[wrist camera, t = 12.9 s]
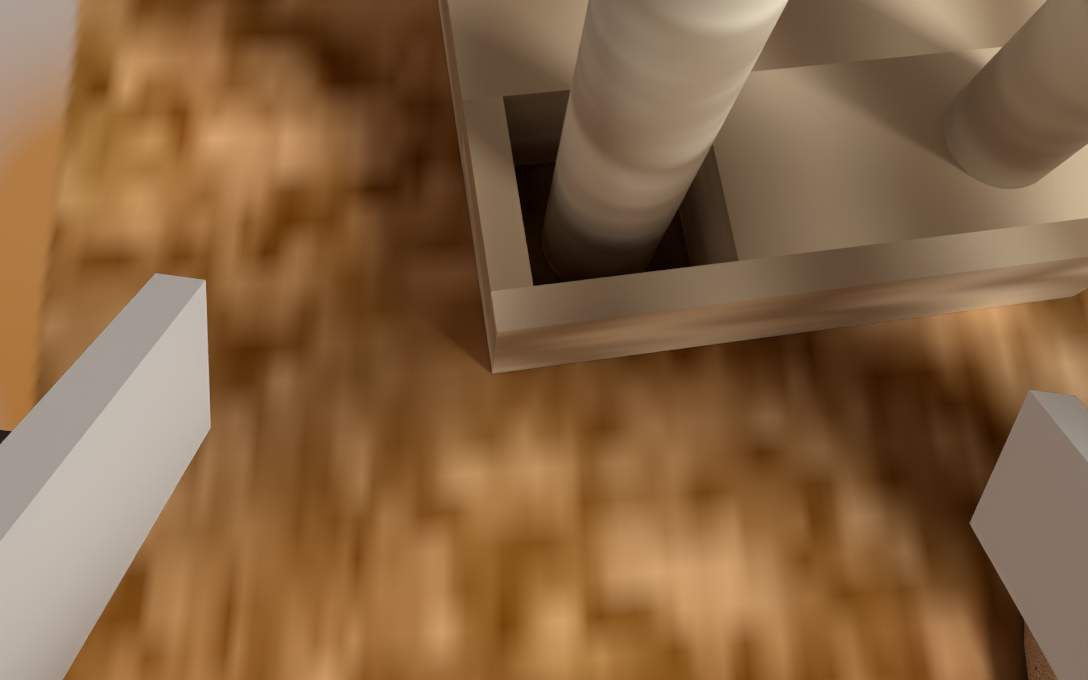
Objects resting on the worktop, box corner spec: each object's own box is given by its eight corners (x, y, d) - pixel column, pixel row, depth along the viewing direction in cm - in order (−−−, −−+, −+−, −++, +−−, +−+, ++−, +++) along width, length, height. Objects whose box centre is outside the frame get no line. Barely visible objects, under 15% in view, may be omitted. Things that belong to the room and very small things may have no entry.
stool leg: (642, 182, 28) (860, -347, 12) (663, 286, 27) (924, -144, 12) (533, 194, 27) (621, -336, 12) (550, 299, 27) (668, -125, 11)
